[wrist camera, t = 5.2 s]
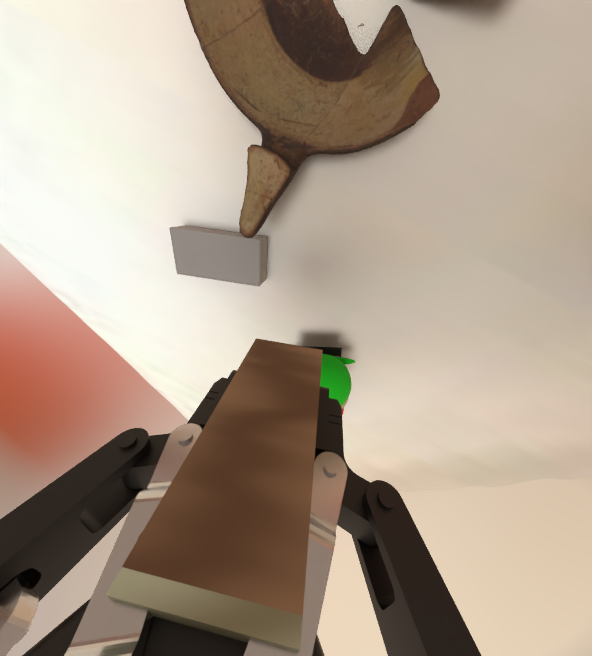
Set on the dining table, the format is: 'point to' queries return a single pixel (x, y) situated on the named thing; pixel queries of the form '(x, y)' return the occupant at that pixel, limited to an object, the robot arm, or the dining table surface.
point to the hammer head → (220, 255)
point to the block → (238, 509)
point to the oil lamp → (308, 85)
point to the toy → (335, 374)
